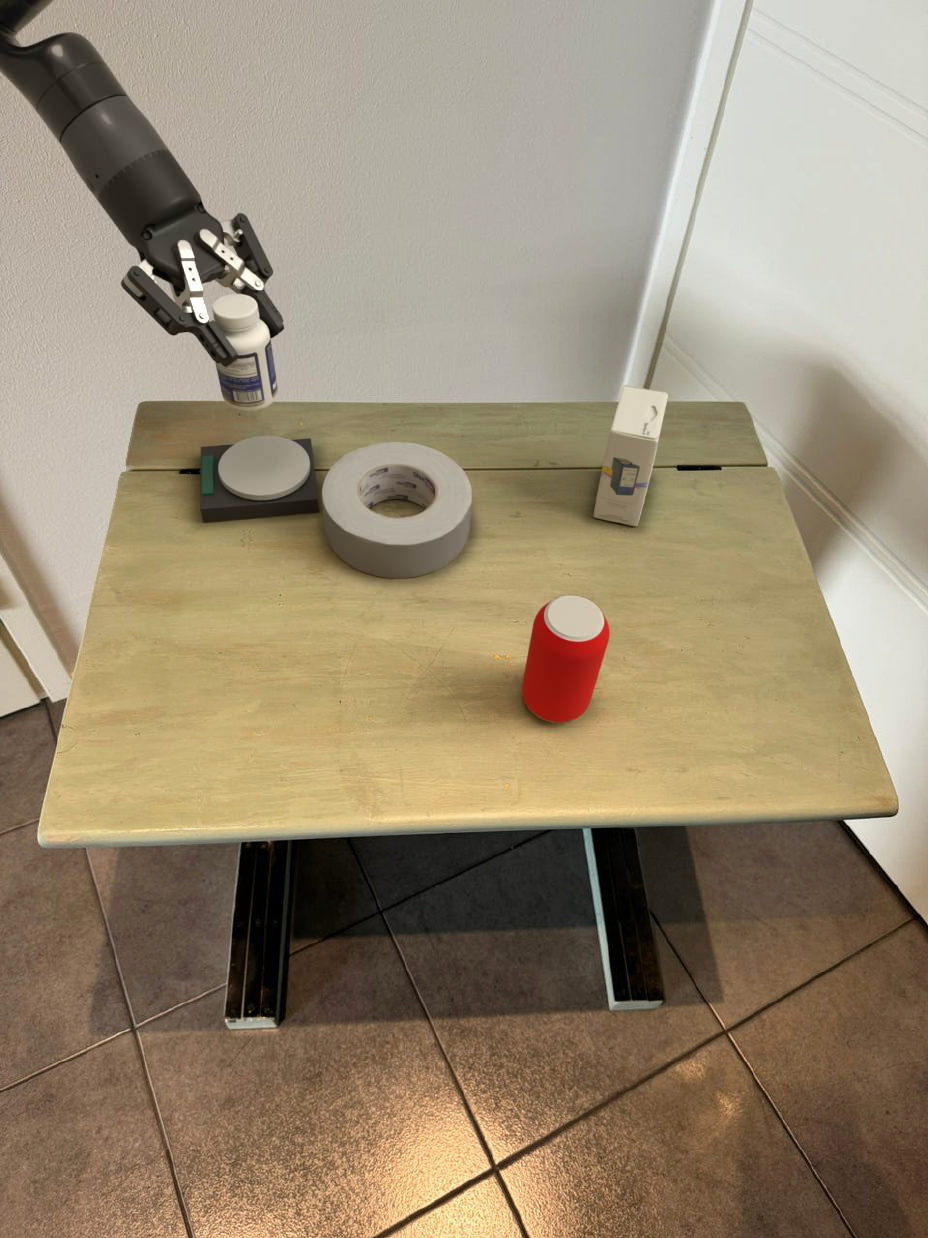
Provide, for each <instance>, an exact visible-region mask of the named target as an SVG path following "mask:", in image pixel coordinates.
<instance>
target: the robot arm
mask: <svg viewBox="0 0 928 1238" xmlns="http://www.w3.org/2000/svg"><path fill="white" fill-rule="evenodd" d="M54 1H55V0H0V73H1V74H2V75H3V76H4V77H5V78H6V79H7V80H8V82H10V83H11V85H13V86H14V87H15V88H16V89H17V90H18V91H19V93H21V95H22V96H23V97H24V98H25V100H27V101H28V103H29V104H30V105H31V107H32V108H33V109H34V111H35V112H36V113H37V115H38V116H39V117H40V119H41V120H42V121H43V123H44V124H45V125H46V127H47V128H48V129H49V131H50V132H51V134H52V135H53V136H54V139H56V140H57V142H58V143H59V145H60V146H61V148H62V149H63V151H64V152H65V154H66V155H67V157H68V159H69V161H70V163H71V165H72V166H73V167H74V170H75V171H76V173H77V175H79V178H80V179H81V180H82V181H83V183H84V184H85V186H86V187H87V189H88V190H89V191H90V193H91V194H92V195H93V197H94V198H95V199H96V201H97V202H98V203H99V205H100V206H101V208H102V209H103V211H104V212H105V213H106V214H107V215H108V217H109V218H110V220H111V221H112V222H113V224H114V225H115V226H116V228H117V229H118V231H119V232H120V233H121V235H122V236H123V237H124V239H125V240H126V242H127V243H128V244H129V245H130V246H132V247H134V248H135V249H136V251H137V253H138V257H139V261H140V263H139V264H138V265H131V267H130V268H129V269H128V271H127V272H126V274H125V275H124V277H122V279H121V281H120V285H121V288H122V289H123V290H124V291H125V292H126V293H127V294H128V295H129V296H130V297H131V298H132V299H133V300H134V301H135V302H136V303H137V304H138V305H139V306H140V307H141V308H142V309H143V310H144V311H145V312H146V313H147V314H148V315H149V316H150V317H151V318H152V319H153V320H154V321H155V322H156V323H157V324H158V326H160V327H161V328H162V329H163V330H164V331H165V332H167V334H169V335H170V336H177V335H178V334H184V333H190V334H192V335H194V336H195V337H196V339H197V341H198V342H199V343H200V344H201V346H202V347H203V349H204V350H205V351H206V353H207V354H208V356H209V357H210V358H211V360H212V361H214V363H215V362H216V363H218V364H219V363H221V364H222V365H223V366H224V367H227V366H229V365H231V364H232V363H233V362H234V361H236V360H237V359H238V354H237V352H236V351H235V349H234V348H233V346H232V345H231V344H230V342H229V341H228V339H227V338H226V337H225V335H224V334H223V332H222V331H221V330H220V328H219V327H218V325H217V324H216V323H215V320H214V319H211V321H210V315H209V312H208V309H207V306H206V303H205V300H204V287H203V284H206V283H207V284H208V283H211V282H213V281H215V282H217V284H219V286H221V287H224V288H228V289H230V290H231V291H233V292H234V293H235V294H243V295H247V296H250V297H252V298H253V299H254V300H255V301H256V302H257V305H258V311H259V319H261V320H262V321H263V322H264V323H265V324H266V325H267V327H268V329H269V333H270V338H271V339H274V338H275V337H277V336H279V334H281V333H282V332H283V331H284V330H285V325H284V319H283V315H282V314H281V312H280V311H279V310H278V308H277V307H276V305H275V304H274V302H273V301H272V299H271V298H270V297H269V295H268V294H267V292H266V290H265V285H266V284H267V282H268V280H269V279H270V278H271V277H272V276H273V275H274V268H273V267H272V265H271V263H270V260H269V259H268V257H267V255H266V253H265V251H264V248H263V247H262V244H261V243H260V240H259V239H258V236H257V234H256V232H255V230H254V228H253V225H252V223H251V222H250V220H249V218H248V216H247V215H246V214H244V213H243V212H238V213H237V214H236V215H235V216H234V217H232V218H231V219H227V220H222V221H219V220H218V218H215V217H214V216H213V215H211V214H210V212H208V211H207V209H206V208H205V206H204V203H203V200H202V197H201V194H200V193H199V191H198V190H197V188H196V186H195V185H194V184H193V183H192V181H191V179H190V178H189V177H188V175H187V174H186V172H185V171H184V169H183V168H182V166H181V165H180V163H179V162H178V161H177V159H176V158H175V156H174V155H173V153H172V151H170V149H169V148H168V145H167V144H166V143H165V141H164V140H163V139H162V137H161V136H160V134H159V132H157V130H156V128H155V127H154V125H152V123H151V122H150V120H149V119H148V118H147V117H146V115H144V113H143V112H142V111H141V110H140V109H139V108H138V107H137V105H136V104H135V103H134V102H133V100H132V99H131V98H130V96H129V94H128V93H127V92H126V90H125V89H124V87H123V86H122V84H121V82H119V80H118V79H117V76H116V75H115V74H114V73H113V71H112V70H111V68H110V67H109V65H108V64H107V63H106V61H105V60H104V58H103V56H102V55H101V54H100V53H99V51H98V50H97V48H96V47H95V46H94V45H93V43H92V42H91V41H90V40H89V39H88V38H87V37H85V36H84V35H82V34H80V33H77V32H74V31H68V32H67V31H66V32H60V33H57V34H53V35H51V36H48V37H46V38H44V39H41V40H39V41H37V42H35V43H32V44H29V45H26V46H23V45H21V43H20V42H19V40H18V38H17V36H18V34H19V33H20V32H22V31H23V29H25V28H26V27H27V26H28V25H29V24H30V23H31V22H32V21H34V20H35V19H36V18H37V17H38V16H39V15H40V14H41V13H42V12H43V11H45V10H46V9H47V8H49V6H50V5H51V4H52V3H53V2H54ZM225 240H226V241H227V245H228V247H229V246H230V247H233V249H234V251H232V250H231V249H229V248H228V247H227V246H226V245H225V244H226V243H225ZM234 252H235V253H234ZM226 267H227V268H228V269H226ZM156 277H157V278H158V279H160V280H163V281H165V282H167V283H168V284H169V288H170V291H171V293H172V297H173V299H172V298H171V297H170V296H169V295H168V294H167V292H166V291H164V290H163V289H162V288H161V287H160V286H159V285H158V280H157V279H156ZM216 363H215V364H216Z"/></svg>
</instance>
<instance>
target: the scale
mask: <svg viewBox="0 0 928 1238" xmlns="http://www.w3.org/2000/svg"><path fill="white" fill-rule="evenodd" d="M313 453H314V452H313V445H312V438H311V437H307V438H296V439H289V438H286V437H282V436H277V435H259V436H253V437H249V438H246V439H243V440H240V441H238V442H236V443H231V444H218V445H205V446H200V469H199V471H200V473H199V474H200V475H199V476H200V477H199V481H200V483H199V511H200V516H201V518H202V522H203V524H204V523H205V524H206V523H207V524H208V523H217V522H219V523H220V522H229V521H239V520H251V519H260V518H261V519H262V518H272V517H274V518H275V517H284V516H294V515H305V514H316V513H320V506H319V496H318V489H317V481H316V480H317V479H316V472H315V461H314V454H313Z"/></svg>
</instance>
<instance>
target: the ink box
mask: <svg viewBox="0 0 928 1238" xmlns="http://www.w3.org/2000/svg"><path fill="white" fill-rule="evenodd" d="M668 399H669V394H668V393H667V392H665V391H658V390H654V389H648V388H643V387H637V386H632V385H626V384H623V386H622V389H621V393H620V396H619V399H618V402H617V406H616V409H615V412H614V416H613V419H612V423H611V426H610V430H609V435H608V439H607V443H606V449H605V453H604V458H603V463H602V469H601V473H600V478H599V483H598V489H597V494H596V499H595V503H594V504H595V505H594V508H593V509H594V510H593V518H595V519H599V520H603V521H607V522H613V523H619V524H622V525H627V526H632V527H638V525H639V523H640V518H641V515H642V513H643V512H642V511H643V507H644V504H645V501H646V497H647V496H646V495H647V494H648V493H647V492H648V488H649V483H650V479H651V475H652V472H653V469H654V464H655V460H656V456H657V450H658V446H659V441H660V437H661V436H660V435H661V432H662V426H663V423H664V422H663V421H664V416H665V412H666V407H667V403H668Z"/></svg>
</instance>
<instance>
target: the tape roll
mask: <svg viewBox="0 0 928 1238" xmlns="http://www.w3.org/2000/svg"><path fill="white" fill-rule="evenodd" d="M389 500H404V501H409V502H413V503H415V504H417V505H419V506H421V507H422V508H423V509H424V510H422V511H421V512H419V513H416V514H414V515H410V516H402V517H401V516H400V517H397V516H396V517H395V516H394V517H393V516H386V515H383V514H381V513H377V512H376V511H374V510H372V509H370V508H371V507H372V506H374V505H376V504H379V503H381V502H383V501H389ZM321 503H322V516H323V529H324V534H325V538H326V541H327V542H328V545H329V547H330V548H331V550H332V551H333V552H334V553H335V555H336V556H337V557H338V558H339V559H341V561H343V562H344V563H346V564H347V565H349V566H350V567H352V568H354V569H355V570H358V571H360V572H362V573H365V574H367V575H372V576H376V577H379V578H387V579H388V578H389V579H409V578H416V577H421V576H425V575H429V574H431V573H435V572H436V571H438V570H441V569H442V568H444V567H446V566H448V565H449V564H450V563H451V562H453V561H454V560H455V559H456V558H457V557H458V556H459V555H460V554H461V552H462V551H463V549H464V548H465V546H466V543H467V541H468V538H469V535H470V527H471V517H472V505H473V487H472V485H471V482H470V479H469V477H468V475H467V473H466V472H465V470H464V469H463V468H462V467H461V466H460V465H459V464H458V463H457V462H456V461H455V460H453V459H452V458H451V457H450V456H448V455H446V454H444V452H441V451H440V450H437V449H435V448H433V447H429V446H426V445H423V444H419V443H413V442H407V441H406V442H405V441H404V442H403V441H386V442H385V441H383V442H378V443H371V444H369V445H366V446H362V447H359V448H356V449H354V450H351V451H350V452H347V453H346V454H344V455H343V456H341V457H340V458H339V459H338V460H337V461H335V463H334V464H333V465H332V466H331V467H330V468H329V470H328V472H327V474H326V476H325V477H324V481H323V483H322V488H321Z"/></svg>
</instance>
